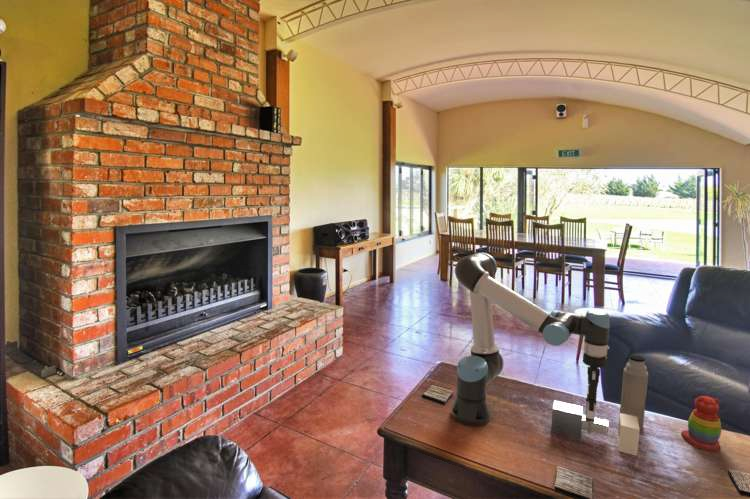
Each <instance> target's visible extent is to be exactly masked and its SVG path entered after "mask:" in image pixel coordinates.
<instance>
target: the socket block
mask: <svg viewBox="0 0 750 499" xmlns="http://www.w3.org/2000/svg"><path fill="white" fill-rule="evenodd" d="M618 416H619V417H618V425H617V427H618V428H617V435H616V437H617V448H618V452H620V453H625V454H628V455H632V456H637V455H638V449H639V442H640V441H639V440H640V432H641V431H640V429H639V424H638V418H637V417H636V416H632V415H627V414H622V413H620V412H619V415H618Z"/></svg>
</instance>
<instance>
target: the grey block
mask: <svg viewBox="0 0 750 499" xmlns="http://www.w3.org/2000/svg"><path fill="white" fill-rule="evenodd" d="M583 409H584V406H583V405H582V406H581V405H577V404H574V403H573V404H572V403H569V402H568V403H567V402H564V401H559V400H556V399H555V400H553V404H552V411H551V413H552V414H551V415H552V416H551V425H550V426H551V429H550V430H551V431H550V433H551V434H555V435H557V436H562V437H563V436H564V437H567V438H571V439H575V440H579V441H581V439H582V438H581V437H582V430H581V428H582V415H584V414H583V412H584V410H583Z"/></svg>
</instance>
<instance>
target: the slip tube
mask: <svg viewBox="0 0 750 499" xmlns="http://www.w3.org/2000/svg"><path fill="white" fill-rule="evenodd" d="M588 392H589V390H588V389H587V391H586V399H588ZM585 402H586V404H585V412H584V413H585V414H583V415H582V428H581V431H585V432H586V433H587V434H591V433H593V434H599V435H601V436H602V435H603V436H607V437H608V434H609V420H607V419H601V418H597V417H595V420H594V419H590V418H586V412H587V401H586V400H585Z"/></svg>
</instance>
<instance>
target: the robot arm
mask: <svg viewBox="0 0 750 499" xmlns="http://www.w3.org/2000/svg"><path fill="white" fill-rule="evenodd" d="M497 264H498V263H497V261H496V259H495V258H494V257H493V256H492V255H491V254H490V253H487V252H476V253H473V254H470V255H467V256H464V257H461V258H460V259H458V261H457V263H456V264H455V267H454V274H455V278H456V280H457V281H458V282H459V283H460V285H462V286H463V287H464V288H466V290H467V289H468V291H469V297H470V298H469V300H470V310H471V323H472V324H471V325H472V326H471V327H472V337H473V338H472V340H473V345H472V346H471V347H470V355H469V356H464V357H462V358H460V359H459V360H458V362H457V367H456V394H455V395H456V397H455V399H454V402H453V404H452V406H451V416H452V418H453V420H455V421H456V422H457V423H459V424H461V425H465V426H468V427H480V426H484V425H486V424H488V422H490V418H491V412H490V408H489V404H488V401H487V387H488V385H489V384H490V383H491V382H492V381H493V380H495V378H497V377H498V376H499V375H500V374H501V373H502V371H503V369H504V363H505V362H504V358H503V356H502V354H501V353H500V348H499V347H498V346H497V345H496V343H495V330H494V328H495V327H494V318H493V316H494V315H493V304H492V303H494V304H495V305H497V306H498V307H500V309H503V310H505V311H506V312H508V313H509V314H511V315H512V316H513V317H515V318H516V319H518V320H520V321H522V322H523V323H524V324H526V325H527V326H529V327H531V328H532V329H534V330H535V331H537V332H538V333H540V334H541V335H542V337H543V339H544V340H545V342H546V343H547V344H548V345H550V346H555V347H558V346H561V345H563V344H564V343H566V342H567V341H568V340H569V338H570V337H571V336H572V335H576V336H583V337H584V338H583V350H582V351H583V352H582V354H583V355H582V363H583V364H584V365H586V366H587V370H586V371H587V384H588V385H587V390H589V392H588V399H587V398H585V402H586V401H587V412H586V411H585V413H586V418H590V419H594V420H595V418H596V417H595V416H596V409H597V408H596V407H597V396H598V395H597V392H598V386H599V381H600V379H599V378H600V376H601V368H605V367H606V366H607V361H608V357H607V355H608V350H610V346H609V339H610V338H609V336H610V327H611V326H610V322H611V321H610V320H611V319H610V318H611V317H610V314H609V313H607V312H606V311H603V310H598V309H590V310H587V311H586V313H585V314H582V313H581V314H580V313H575V312H569V311H564V310H555V309H553V310H552V311H551V313H549V312H548V311H546V310H545V309H543V308H541V307H540V306H538V305H536V304H535V303H534V302H533V303H532V301H530V300H528V299H527V298H525V297H523V296H522V295H520V294H519V293H517V292H516V291H514V290H512V289H511V288H509V287H508V286H506V285H504V284H502V282H499V281H498V280H496V279H495V278H494V277H495V275H496V273H497V271H498V265H497Z"/></svg>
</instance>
